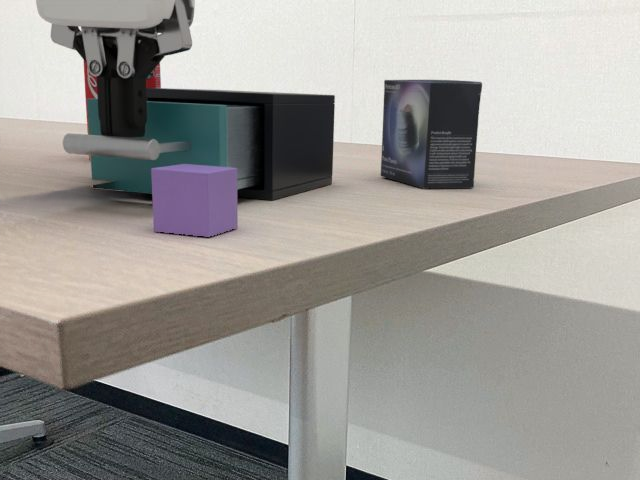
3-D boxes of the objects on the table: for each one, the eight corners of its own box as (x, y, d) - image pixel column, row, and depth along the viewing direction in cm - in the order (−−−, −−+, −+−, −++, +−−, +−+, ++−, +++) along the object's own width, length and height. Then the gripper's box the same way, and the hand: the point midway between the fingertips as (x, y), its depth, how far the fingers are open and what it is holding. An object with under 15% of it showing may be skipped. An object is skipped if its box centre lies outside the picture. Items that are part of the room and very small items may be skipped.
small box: (375, 177, 86) (380, 78, 83) (426, 176, 89) (433, 80, 85) (420, 189, 77) (428, 78, 74) (476, 188, 80) (485, 81, 76)
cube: (153, 232, 49) (150, 168, 48) (185, 223, 53) (183, 163, 52) (208, 238, 48) (207, 172, 47) (238, 228, 52) (237, 167, 50)
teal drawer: (179, 210, 52) (175, 105, 50) (41, 196, 56) (32, 98, 54) (291, 183, 70) (292, 104, 68) (181, 174, 73) (179, 99, 71)
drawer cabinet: (272, 200, 65) (273, 93, 62) (144, 188, 69) (139, 87, 66) (332, 184, 78) (335, 95, 76) (221, 174, 82) (220, 90, 79)
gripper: (-25, -172, 48) (1, 130, 54) (184, -182, 44) (188, 147, 50) (55, -138, 55) (70, 127, 61) (243, -144, 51) (240, 142, 57)
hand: (123, 135), depth 56 cm, fingers closed
